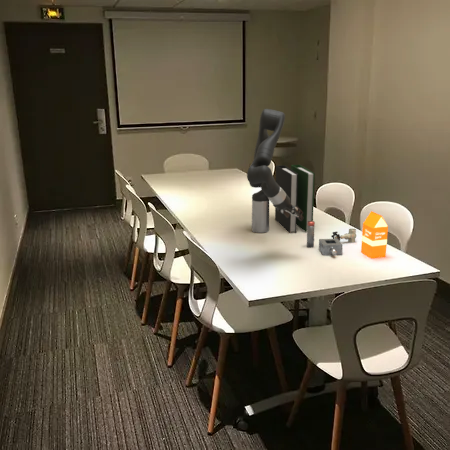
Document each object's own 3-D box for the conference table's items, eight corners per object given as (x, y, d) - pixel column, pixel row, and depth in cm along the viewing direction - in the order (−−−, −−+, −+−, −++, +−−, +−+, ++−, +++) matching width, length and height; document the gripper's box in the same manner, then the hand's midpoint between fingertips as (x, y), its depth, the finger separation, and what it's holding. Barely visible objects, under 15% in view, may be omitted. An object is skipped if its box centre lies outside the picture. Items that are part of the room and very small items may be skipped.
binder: (313, 231, 261) (316, 173, 252) (287, 233, 259) (288, 174, 250) (298, 218, 287) (299, 164, 278) (273, 219, 285) (274, 165, 276)
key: (307, 247, 237) (308, 223, 233) (306, 245, 240) (307, 221, 237) (314, 247, 237) (315, 222, 233) (313, 245, 240) (314, 220, 237)
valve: (351, 239, 249) (331, 242, 245) (352, 227, 247) (331, 229, 243) (358, 243, 243) (338, 246, 239) (359, 230, 241) (339, 233, 237)
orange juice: (371, 258, 221) (374, 216, 216) (360, 252, 229) (363, 211, 224) (386, 256, 223) (389, 215, 218) (375, 250, 232) (378, 210, 226)
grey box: (324, 258, 223) (325, 247, 221) (318, 248, 235) (319, 239, 234) (344, 257, 223) (344, 247, 221) (337, 248, 235) (337, 238, 234)
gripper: (294, 193, 212) (311, 214, 222) (271, 188, 223) (288, 208, 233) (285, 206, 210) (302, 227, 221) (262, 201, 221) (280, 221, 231)
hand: (295, 217), depth 227 cm, fingers open, 8 cm apart
